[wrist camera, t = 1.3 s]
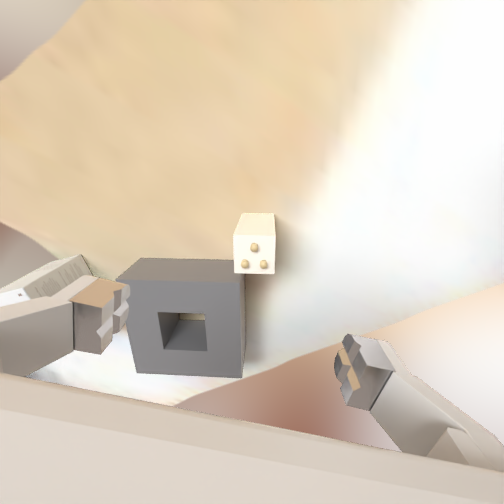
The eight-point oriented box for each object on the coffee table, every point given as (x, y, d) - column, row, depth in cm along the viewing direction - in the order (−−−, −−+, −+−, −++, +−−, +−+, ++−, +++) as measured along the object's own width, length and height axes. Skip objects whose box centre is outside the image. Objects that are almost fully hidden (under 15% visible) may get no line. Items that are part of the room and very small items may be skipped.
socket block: (244, 260, 38) (239, 282, 32) (245, 344, 44) (241, 378, 38) (141, 258, 39) (115, 279, 33) (155, 341, 45) (136, 373, 39)
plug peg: (274, 213, 36) (275, 237, 26) (273, 243, 37) (274, 276, 27) (242, 213, 36) (232, 236, 26) (242, 242, 37) (233, 275, 28)
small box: (51, 260, 41) (-18, 295, 31) (81, 253, 40) (21, 286, 30) (76, 302, 43) (20, 347, 34) (105, 296, 42) (56, 340, 33)
